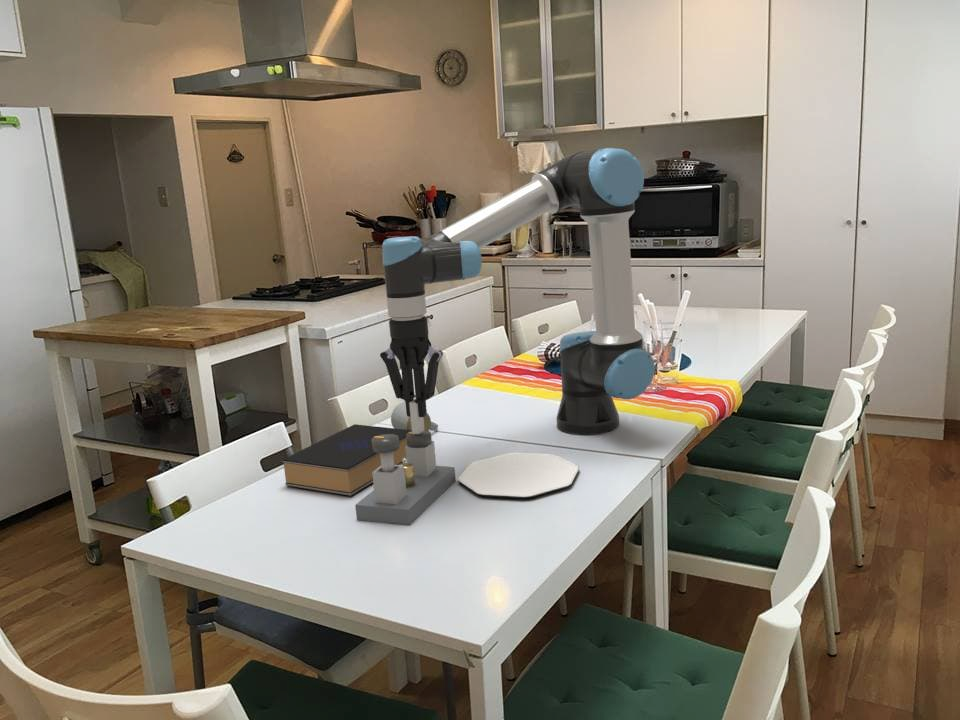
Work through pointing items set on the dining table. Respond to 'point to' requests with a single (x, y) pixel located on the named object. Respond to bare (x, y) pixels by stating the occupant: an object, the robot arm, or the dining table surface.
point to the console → (406, 489)
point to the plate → (518, 475)
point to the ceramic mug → (408, 419)
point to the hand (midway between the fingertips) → (418, 431)
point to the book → (341, 460)
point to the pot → (408, 473)
